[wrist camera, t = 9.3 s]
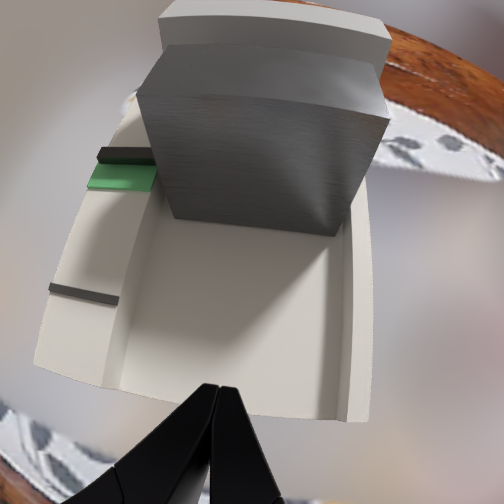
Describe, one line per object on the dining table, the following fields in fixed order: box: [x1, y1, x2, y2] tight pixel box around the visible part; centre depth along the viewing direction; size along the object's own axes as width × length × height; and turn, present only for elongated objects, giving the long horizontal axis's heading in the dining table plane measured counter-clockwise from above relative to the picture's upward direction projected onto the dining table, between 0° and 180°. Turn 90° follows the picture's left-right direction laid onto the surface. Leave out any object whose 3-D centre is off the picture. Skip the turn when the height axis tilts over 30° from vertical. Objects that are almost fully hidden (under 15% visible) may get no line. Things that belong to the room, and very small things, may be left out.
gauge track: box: [33, 0, 392, 422], centre depth 14 cm, size 20×16×10 cm
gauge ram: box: [97, 44, 390, 237], centre depth 15 cm, size 4×14×9 cm, turn 83°
